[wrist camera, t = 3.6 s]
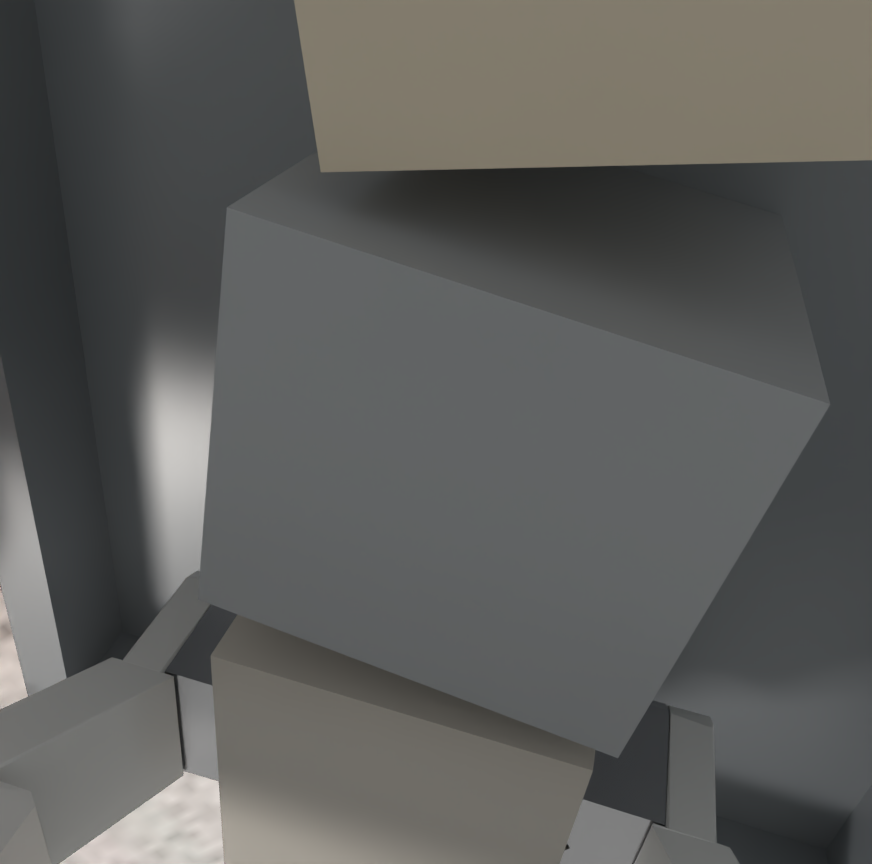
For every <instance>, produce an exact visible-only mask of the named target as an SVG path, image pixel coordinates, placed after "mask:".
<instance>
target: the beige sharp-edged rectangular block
mask: <svg viewBox="0 0 872 864" xmlns="http://www.w3.org/2000/svg"><path fill="white" fill-rule="evenodd" d="M294 3H295V10H296V16H297V23H298V29H299V36H300V42H301V48H302V55H303V61H304V68H305V74H306V81H307V87H308V93H309V100H310V106H311V113H312V119H313V126H314V132H315V138H316V145H317V151H318V158H319V164H320V171H321V172H356V171H402V170H448V169H493V168H539V167H584V166H630V165H675V164H721V163H766V162H812V161H857V160H872V0H294Z"/></svg>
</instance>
